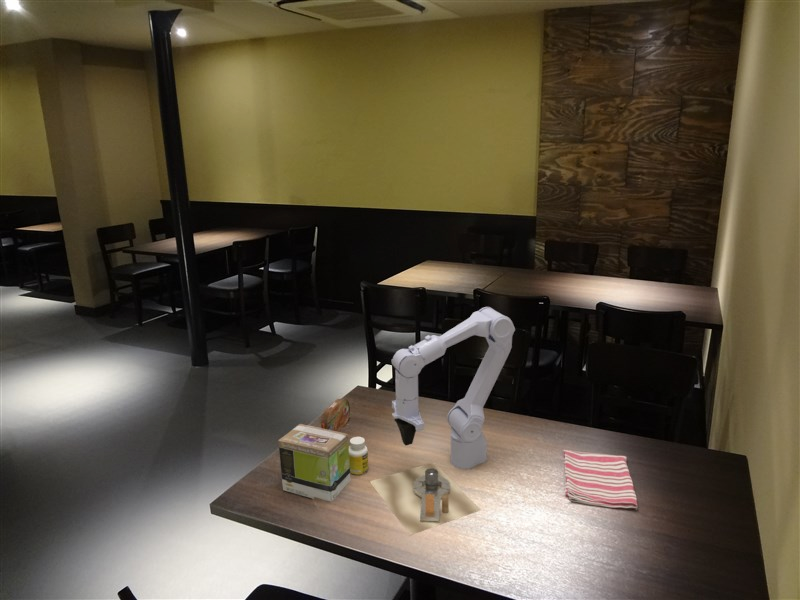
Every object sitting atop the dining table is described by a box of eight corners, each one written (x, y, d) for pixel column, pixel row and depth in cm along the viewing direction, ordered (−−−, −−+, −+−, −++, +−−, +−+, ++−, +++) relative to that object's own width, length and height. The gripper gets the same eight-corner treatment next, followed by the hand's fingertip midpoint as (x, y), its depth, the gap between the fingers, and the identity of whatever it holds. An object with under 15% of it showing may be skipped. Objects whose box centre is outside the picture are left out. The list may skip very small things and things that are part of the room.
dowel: (446, 508, 133) (446, 493, 132) (449, 512, 132) (449, 497, 131) (440, 510, 133) (440, 495, 131) (443, 514, 131) (444, 499, 130)
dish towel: (564, 504, 136) (565, 492, 135) (562, 453, 158) (562, 443, 157) (638, 514, 132) (640, 501, 131) (626, 461, 154) (627, 450, 153)
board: (433, 465, 153) (433, 462, 152) (481, 513, 133) (481, 509, 132) (369, 484, 145) (369, 481, 144) (410, 538, 125) (410, 535, 124)
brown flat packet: (329, 441, 166) (327, 416, 163) (320, 440, 167) (318, 414, 164) (351, 418, 179) (350, 394, 177) (342, 417, 180) (341, 393, 178)
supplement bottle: (365, 479, 147) (364, 446, 144) (345, 477, 148) (344, 444, 145) (370, 468, 152) (369, 435, 149) (351, 466, 153) (350, 434, 150)
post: (434, 484, 143) (434, 467, 141) (440, 491, 140) (440, 473, 138) (423, 487, 141) (422, 470, 140) (429, 494, 138) (429, 477, 137)
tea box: (351, 483, 145) (349, 432, 141) (331, 505, 137) (328, 452, 133) (303, 470, 152) (300, 421, 147) (281, 491, 143) (276, 439, 139)
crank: (415, 477, 145) (414, 460, 144) (449, 478, 144) (449, 461, 143) (410, 520, 129) (409, 501, 127) (449, 521, 128) (449, 503, 127)
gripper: (380, 388, 146) (382, 434, 150) (405, 411, 133) (406, 461, 137) (404, 382, 149) (405, 428, 152) (431, 404, 136) (431, 453, 140)
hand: (407, 443), depth 145 cm, fingers closed
